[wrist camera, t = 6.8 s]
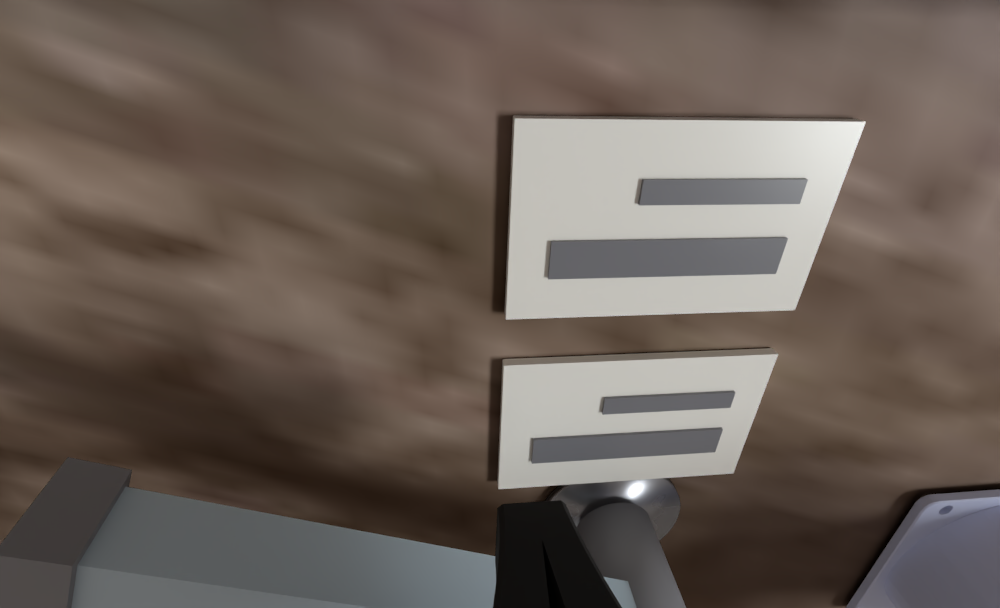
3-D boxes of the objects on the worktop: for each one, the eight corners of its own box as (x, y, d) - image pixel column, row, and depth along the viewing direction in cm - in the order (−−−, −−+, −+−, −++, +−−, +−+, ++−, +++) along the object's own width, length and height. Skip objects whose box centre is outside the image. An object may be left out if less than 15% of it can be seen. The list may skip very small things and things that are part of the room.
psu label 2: (772, 348, 15) (780, 356, 15) (729, 466, 18) (734, 475, 18) (502, 359, 15) (504, 368, 14) (497, 481, 17) (498, 491, 17)
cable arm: (664, 511, 18) (728, 657, 14) (623, 556, 19) (673, 703, 15) (125, 380, 13) (-8, 551, 9) (113, 451, 14) (-10, 631, 10)
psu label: (856, 118, 12) (869, 122, 12) (788, 304, 15) (796, 312, 14) (513, 115, 11) (514, 119, 11) (504, 313, 14) (506, 321, 14)
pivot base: (690, 459, 18) (694, 465, 17) (662, 550, 20) (665, 557, 20) (543, 468, 17) (545, 475, 17) (533, 561, 20) (534, 569, 19)
